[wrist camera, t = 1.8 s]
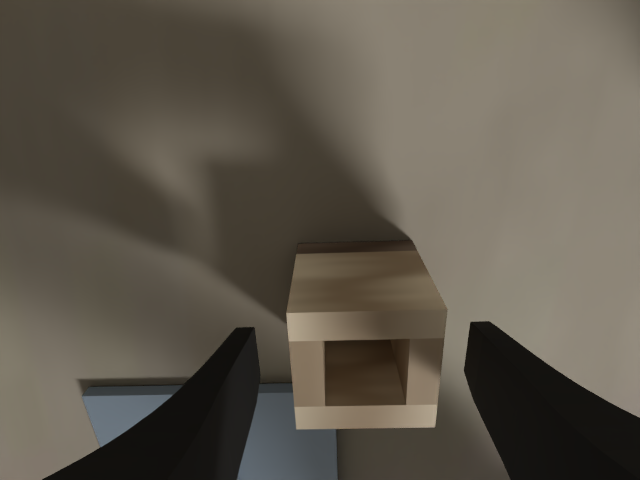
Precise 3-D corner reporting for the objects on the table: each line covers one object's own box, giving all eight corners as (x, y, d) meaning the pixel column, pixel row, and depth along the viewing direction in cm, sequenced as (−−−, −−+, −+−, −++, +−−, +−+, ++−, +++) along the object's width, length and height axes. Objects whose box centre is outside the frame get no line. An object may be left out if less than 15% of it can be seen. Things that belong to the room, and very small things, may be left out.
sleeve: (412, 240, 16) (447, 309, 11) (406, 334, 17) (434, 427, 13) (298, 243, 16) (286, 313, 11) (304, 336, 18) (296, 429, 13)
